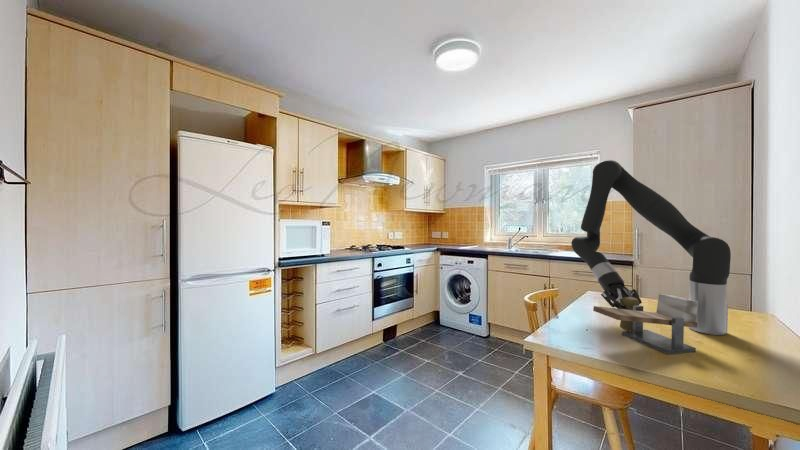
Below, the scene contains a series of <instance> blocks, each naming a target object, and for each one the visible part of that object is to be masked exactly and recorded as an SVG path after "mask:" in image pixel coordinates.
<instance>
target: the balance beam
mask: <svg viewBox="0 0 800 450" xmlns="http://www.w3.org/2000/svg"><path fill="white" fill-rule="evenodd" d="M657 298H658V299H657V307H656V312H652V311H644V310H643V311H641V310H640V311H636V310H626V309H618V308H616V307H606V306H596V305H593V309H592V311H593V312H596V313H598V314H600V315H603V316H607V317H608V318H612V319H614V320H617V321H621V320H624V321H634V322H643V324H644V323H645V324H654V325H655V324H656V325H667V326H671V327H672V318H677V317H681V318H684V328H685V327H686V328H689V327H695V328H697V323H696V315H697V308H698V301H694V300H690V299H689V298H685V297H680V296H677V295H671V294H663V293H658V297H657Z"/></svg>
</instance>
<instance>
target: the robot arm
mask: <svg viewBox="0 0 800 450" xmlns="http://www.w3.org/2000/svg"><path fill="white" fill-rule="evenodd" d="M591 179H592V180H591V188H590V193H589V198H588V201H587V204H586V208H585V210H584V214H583V217H582V219H581V223H580V228H581V231H583V232H585V233H586V236H579V235H578V236H575V237H574V238H573V239H572V241H571V244H570V245H571V248H572V250H573V252H574V253H575V254H576V255H577V256H578V257H579V258H580V259H582V261H584V262H585V263H586V264H587V266H588V267H589V268H590V270H591V272H592V274H593V276H594V277H595V279H596V280H597V282H598V283H599V285H600V286H601V288H602V290H603V292H601V293H600V296H601V297H602V298H603V299H604V300H605V302H607V303H608V304H609V306H610V308H617V309H626V310H627V308H626V307H625V306H623V305H624V304H623V302H622V299H623V297H633V298H636V299H638V300H639V305H641V304H642V303H643V302H642V300H641V298H640V295H639V293H638V292H637V290H636V289H635V288H633V289H629V288H627V287H626V286H625V281H624V280H623V278H622V276H620V274H619V272H618V271H617V270H616V269H615V267H614V266H613V265H612V263H610V261H609V260H608V259H607V258H606V256H605V255H604V254H603V253H602V252H599V251H597V250H599V248H600V245H601V227H602V223H603V220H604V216H605V214H606V209H607V208H606V207H607V203H608V199H609V195H610V193H611V190H612V189H613V190H614V191H616V192H617V193H618V194H620V195H621V196H622V197H623V198H624V200H625V201H626V202H627V203H628V204H629V205H630V206H631V207H632V209H633V210H634V211H635V212H637V213H638V214H639V215H640V216H641V217H643V218H644V219H645V220H646V221H648V222H649V223H650V224H652V225H653V226H655V228H657V229H659V230H660V231H662V232H663V233H665V234H667V235H668V236H670V237H671V238H672V239H673V240H674V241H675V242H677V244H679V246H681V247H682V248H683V249H684V250H685V251H686V252H687V254H689V256H691V257H692V269H691V271H690V272H689V290H688V291H689V292H688V293H689V297H688V299H690V300H694V301H698V308H697V315H696V323H697V328H695V327H688V329H690V330H692V331H695V332H698V333H701V334H708V335H713V336H725V335H726V334H727V333H728V324H729V323H728V320H729V318H728V316H729V315H728V314H729V312H728V311H729V307H728V305H727V296H728V295H727V293H728V291H727V289H728V288H727V287H728V278H729V276H730V272H731V271H730V270H731V258H732V256H731V247H730V245H729V244H728V243H727V242H726V241H725V240H723V239H721V238H719V237H713V236H710V235H708V234H706V233H705V232H704V231H702V230H700V229H698V228H697V227H695V226H694V225H693V224H692V223H690V221H688V219H686V217H685V216H684V215H683V214H682V213H681V211H679V209H678V208H677V207H676V206H675V205H674V204H672V203H671V202H670V201H668V200H667V198H665V197H664V196H662V195H661V194H659V193H657V192H656V191H655V190H653V189H652V188H650V187H649V186H647V185H646V184H643V183H642V182H640V181H639V180H638V179H636V178H635V177H633V176H632V174H630V172H628V171H627V170H626V169H625V168H624V167H623V166H622V164H620V163H619V162H618V161H616V160H613V159H608V160H607V159H606V160H602V161H600V162H598V163H596V165H595V166H594V168H593V170H592V178H591Z"/></svg>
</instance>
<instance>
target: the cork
mask: <svg viewBox="0 0 800 450" xmlns="http://www.w3.org/2000/svg"><path fill="white" fill-rule="evenodd" d="M622 302H623V304H624V305H623V306H625V307H626V308H627V310H633V306H639V305H640V304H639V300H638V299H636V298H633V297H623V299H622ZM619 327H620V328H621V329H624V330H626V331H633V321H624V320H620V323H619Z"/></svg>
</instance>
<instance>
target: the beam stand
mask: <svg viewBox="0 0 800 450" xmlns="http://www.w3.org/2000/svg"><path fill="white" fill-rule="evenodd" d="M633 310H636V311H640V310H641V311H644V305H641V304H639V306H633ZM684 333H685V327H684V318H681V317H677V318H672V326H671V338H670V337H667V336H665V335H663V334H659V333H657V332H654V331H651V330H650V329H644V322H634V321H633V330H623V331H621V335H622V336H623V337H626V338H628V339H630V340H633V341H635V342H637V343H640V344H641V345H645V346H646V347H649V348H652V349H654V350H656V351H658V352H661V353H664V354H665V355H676V354H677V355H679V354H687V353H688V354H689V353H696V350H697V347H694V346H692V345H689V344H687V343H684V335H685V334H684Z"/></svg>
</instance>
